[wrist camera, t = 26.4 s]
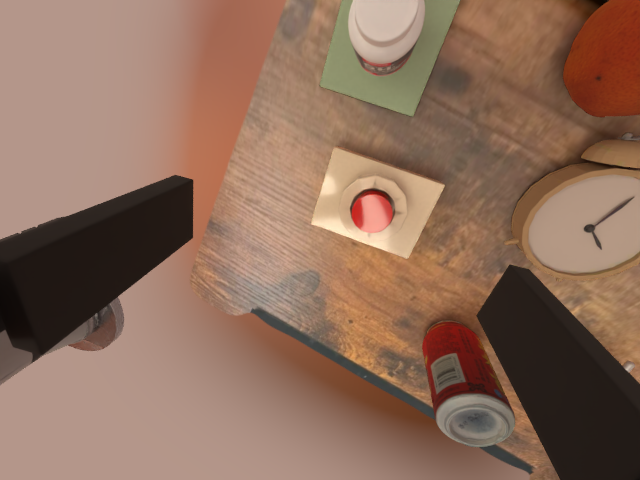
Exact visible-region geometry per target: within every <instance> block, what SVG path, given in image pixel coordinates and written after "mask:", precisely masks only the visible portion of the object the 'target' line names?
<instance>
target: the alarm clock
mask: <svg viewBox="0 0 640 480" xmlns="http://www.w3.org/2000/svg"><path fill="white" fill-rule="evenodd" d="M633 140H640V136H634V137H632V133H625V134H624V135H623V136H622V137H618V139H613V140H605V141H601V142H598V143H596V144H593V145H592V146H590V147H589V148H588V149H586V151H585V152H584V153H583V155H582V156H581V158H583V159H586V160H590V161H595V162H587V163H581V164H574V165H569V166H567V167H564V168H562V169H559V170H557V171H555V172H552V173H550V174H548V175H546V176H545V177H544V178H542V179H541V180H539V181H538V182H537V183H535V184H534V185H532V186H531V187H530V188H529V189H528V191H527V192H526V193H525V194H524V195H523V197H522V198H521V199H520V200H519V201H518V203H517V206H516V208H515V211H514V213H513V215H512V225H511V232H512V235H513V239H509V240H507V241H504V242H505V245H512V244H516V245H517V246H518V247H519V248H520V249H521V250H522V251H523V252H524V254H525V255H526V257H527V258H528V259H529V260H530V261H531V262H532V263H533V264H534V265H535V266H536V267H537V268H538V269H539V270H541V271H543V272H545V273H547V274H549V275H551V276H553V277H557V279H556V281H558V282H561V281H562V280H563V279H568V280H574V281H575V280H596V279H599V278H603V277H607V276H611V275H615V274H619V273H621V272H623V271H625V270H627V269H629V268H631V267H633V266H635V265H637V264H639V263H640V171H638V170H632V169H629V168H625V167H633V168H640V142H637V141H633ZM621 166H625V167H621Z"/></svg>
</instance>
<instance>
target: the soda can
mask: <svg viewBox="0 0 640 480" xmlns="http://www.w3.org/2000/svg"><path fill="white" fill-rule="evenodd" d="M422 349H423V355H424V360H425V366H426V371H427V376H428V381H429V387H430V392H431V397H432V403H433V408H434V414H435V419H436V422H437V424H438V427H439V428H440V429H441V430H442V432H443V433H444V434H446V435H447V436H448V437H450V438H452V439H453V440H455V441H457V442H460V443H463V444H465V445H467V446H471V447H485V446H490V445H494V444H496V443H499V442H501V441H503V440H505V439H506V438H507V437H508V436H510V434H511V433H512V431H513V429H514V427H515V416H514V412H513V410H512V408H511V406H510V404H509V401H508V399H507V397H506V395H505V393H504V391H503V389H502V386H501V384H500V382H499V380H498V378H497V376H496V373H495V371H494V369H493V367H492V365H491V363H490V361H489V358H488V356H487V354H486V352H485V350H484V347H483V345H482V343H481V341H480V339H479V338H478V336H477V335H476V334H475V333H474V332H473V331H471V330H470V329H468V328H467V327H466V326H465V325H463V324H462V323H460V322H456V321H440V322H438V323H436V324H434V325H432V326H431V327H430V328H429V329H428V331H427V334H426V336H425V338H424V341H423V345H422Z"/></svg>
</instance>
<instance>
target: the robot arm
mask: <svg viewBox="0 0 640 480" xmlns="http://www.w3.org/2000/svg"><path fill="white" fill-rule="evenodd" d="M192 238H193V180H192V179H189V178H185V177H181V176H177V175H174V176H171V177H169V178H166V179H164V180H161V181H159V182H156V183H153V184H151V185H148V186H145V187H143V188H140V189H137V190H135V191H132V192H130V193H127V194H125V195H122V196H119V197H116V198H114V199H111V200H109V201H106V202H103V203H101V204H98V205H96V206H93V207H91V208H88V209H85V210H83V211H80V212H77V213H75V214H72V215H69V216H66V217H61V218H56V219H54V220H51V221H49V222H46V223H43V224H40V225H38V227H37V228H36V227H33V228H30V229H27V230H24V231H22V233H21V234H19V233H16V234H14V235H11V236H9V237H6V238H3V239H1V240H0V385H1V384H2V383H4V382H5V381H6V380H8V379H10V378H11V377H12V376H14V375H15V374H17V373H18V372H19V371H21V370H22V369H24V368H26V367H27V366H28V365H30V364H31V363H33V362H34V361H36V360H37V359H39V358H40V357H42V356H43V355H46V354H48V353H51V352H53V351H55V350H57V349H60V348H62V347H65V346H67V345H69V344H74V343H77V342H79V341H82V340H84V339H85V338H87V337H88V336H89V335H91V334H92V333H94V331H95V330H96V329H97V326H98V314H97V312H99V311H100V310H101V309H102V308H104V307H105V306H106V305H108V304H109V303H110V302H111V301H113V300H114V299H115V298H117V297H118V296H119V295H120V294H122V293H123V292H124V291H125V290H127V289H128V288H129V287H131V286H132V285H133V284H134V283H136V282H137V281H138V280H140V279H141V278H142V277H143V276H144V275H146V274H147V273H148V272H150V271H151V270H152V269H153V268H155V267H156V266H157V265H159V264H160V263H161V262H163V261H164V260H165V259H166V258H168V257H169V256H170V255H171V254H173V253H174V252H175V251H177V250H178V249H179V248H180V247H182V246H183V245H184V244H185V243H187V242H188V241H189V240H191V239H192ZM476 316H477V318H478V320H479V322H480V324H481V326H482V328H483V330H484V332H485V334H486V336H487V337H488V339H489V341H490V343H491V345H492V347H493V349H494V351H495V353H496V355H497V357H498V359H499V361H500V363H501V365H502V367H503V369H504V371H505V373H506V375H507V377H508V378H509V380H510V382H511V384H512V386H513V388H514V390H515V392H516V394H517V396H518V398H519V400H520V402H521V404H522V406H523V408H524V410H525V412H526V414H527V416H528V418H529V419H530V421H531V423H532V425H533V427H534V429H535V431H536V433H537V435H538V437H539V439H540V441H541V443H542V445H543V447H544V449H545V451H546V453H547V455H548V457H549V459H550V460H551V462H552V464H553V466H554V468H555V470H556V472H557V474H558V476H559V478H560V480H640V384H639V383H638V382H637V381H636V380H635V379H634V378H633V377H632V375H631V374H630V373H629V372H628V371H627V370H626V369H625V368H624V367H623V366H622V365H621V364H620V363H619V362H618V361H617V360H616V359H615V358H614V357H613V356H612V355H611V354H610V353H609V352H608V351H607V350H606V349H605V348H604V347H603V346H602V344H601V343H600V342H599V341H598V340H597V339H596V338H595V337H594V336H593V335H592V334H591V333H590V332H589V331H588V330H587V329H586V328H585V327H584V326H583V325H582V324H581V323H580V322H579V321H578V320H577V319H576V318H575V317H574V316H573V314H572V313H571V312H570V311H569V310H568V309H567V308H566V307H565V306H564V305H563V304H562V303H561V302H560V301H559V300H558V299H557V298H556V297H555V296H554V295H553V294H552V293H551V292H550V291H549V290H548V289H547V288H546V287H545V286H544V285H543V283H542V282H541V281H540V280H539V279H538V278H537V277H536V276H535V275H534V274H533V273H532V272H531V271H530V270H529V269H525V268H521V267H518V266H514V265H509V266H508V268H507V269H506V271H505V272H504V274H503V276H502V277H501V279H500V280H499V282H498V283H497V285H496V286H495V288H494V289H493V291H492V292H491V294H490V296H489V297H488V299H487V300H486V302H485V303H484V305H483V306H482V308H481V309H480V311H479V312H478V314H477V315H476Z"/></svg>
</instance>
